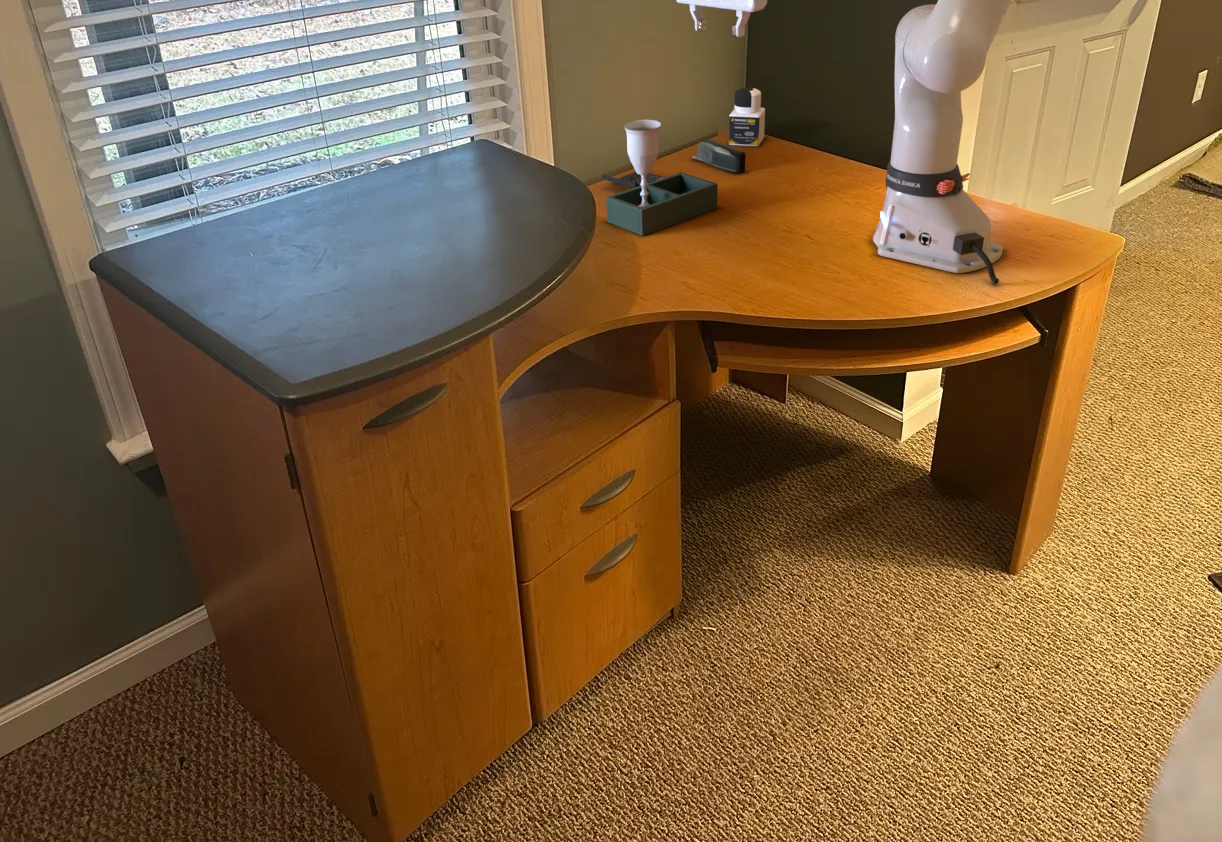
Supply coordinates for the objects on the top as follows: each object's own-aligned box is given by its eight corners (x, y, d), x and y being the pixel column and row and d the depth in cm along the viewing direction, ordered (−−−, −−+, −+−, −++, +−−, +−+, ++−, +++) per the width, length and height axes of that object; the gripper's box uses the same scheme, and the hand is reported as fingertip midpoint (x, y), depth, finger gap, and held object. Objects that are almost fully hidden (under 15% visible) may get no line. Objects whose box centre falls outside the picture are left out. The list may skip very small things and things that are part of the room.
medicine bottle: (728, 145, 231) (729, 93, 224) (734, 136, 237) (735, 85, 230) (758, 146, 229) (760, 94, 222) (764, 137, 234) (766, 86, 228)
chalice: (651, 226, 188) (648, 132, 178) (620, 221, 191) (616, 128, 181) (669, 214, 193) (668, 121, 183) (639, 209, 196) (636, 118, 186)
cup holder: (717, 208, 196) (717, 183, 194) (642, 236, 186) (641, 210, 183) (681, 196, 203) (681, 171, 201) (607, 222, 193) (605, 197, 190)
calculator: (671, 182, 211) (671, 168, 209) (634, 197, 204) (634, 183, 202) (638, 174, 216) (638, 160, 215) (602, 188, 210) (601, 175, 208)
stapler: (748, 150, 212) (700, 134, 221) (738, 153, 210) (690, 137, 220) (747, 172, 214) (700, 156, 224) (737, 176, 213) (690, 159, 223)
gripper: (776, -50, 167) (774, 36, 174) (691, -56, 180) (693, 24, 188) (750, -45, 163) (750, 43, 171) (666, -51, 177) (669, 30, 184)
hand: (719, 33), depth 179 cm, fingers open, 8 cm apart
